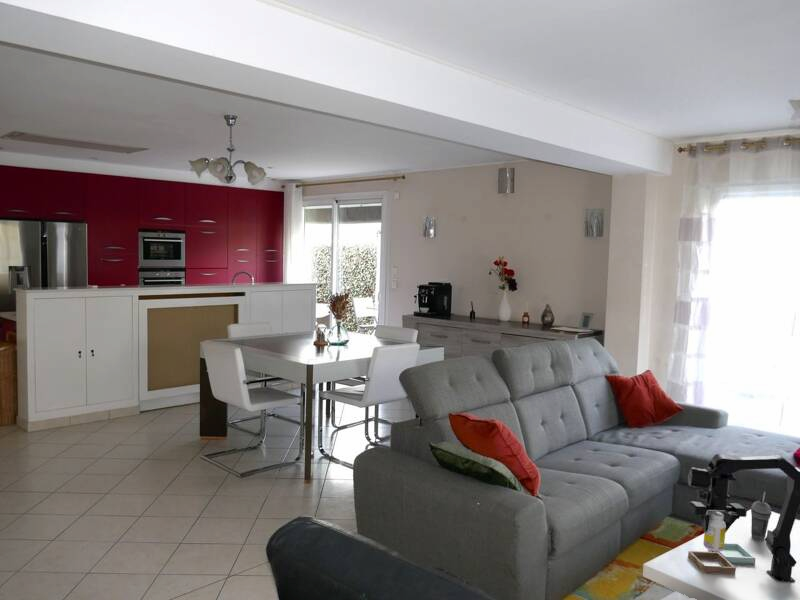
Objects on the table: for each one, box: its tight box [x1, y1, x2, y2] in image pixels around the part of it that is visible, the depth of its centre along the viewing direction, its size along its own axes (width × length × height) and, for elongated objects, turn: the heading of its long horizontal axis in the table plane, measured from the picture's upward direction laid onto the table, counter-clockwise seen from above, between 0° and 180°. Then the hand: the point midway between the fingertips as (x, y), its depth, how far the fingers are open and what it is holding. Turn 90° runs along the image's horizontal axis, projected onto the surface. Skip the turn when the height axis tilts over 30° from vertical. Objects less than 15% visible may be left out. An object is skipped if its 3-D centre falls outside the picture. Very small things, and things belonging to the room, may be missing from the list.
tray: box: [710, 542, 756, 566], centre depth 239 cm, size 11×11×2 cm
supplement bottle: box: [703, 511, 727, 552], centre depth 230 cm, size 7×7×13 cm
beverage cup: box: [750, 491, 772, 542], centre depth 255 cm, size 7×7×20 cm
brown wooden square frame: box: [687, 550, 737, 576], centre depth 231 cm, size 11×11×2 cm
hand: (714, 531), depth 230 cm, fingers closed on supplement bottle, 7 cm apart
